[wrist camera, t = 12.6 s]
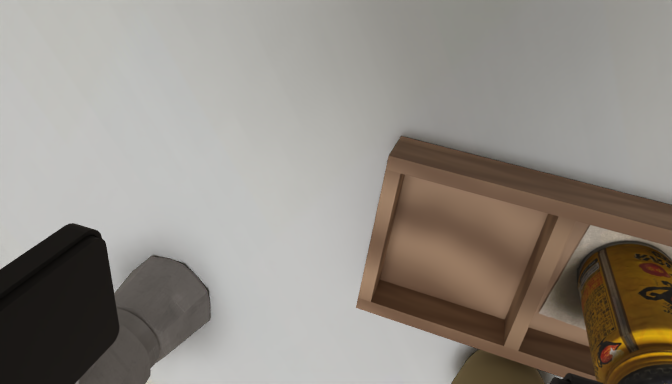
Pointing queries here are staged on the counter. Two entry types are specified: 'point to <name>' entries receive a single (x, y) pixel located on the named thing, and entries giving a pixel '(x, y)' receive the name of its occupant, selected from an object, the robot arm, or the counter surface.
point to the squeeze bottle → (495, 371)
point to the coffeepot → (151, 320)
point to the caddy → (489, 250)
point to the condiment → (619, 305)
